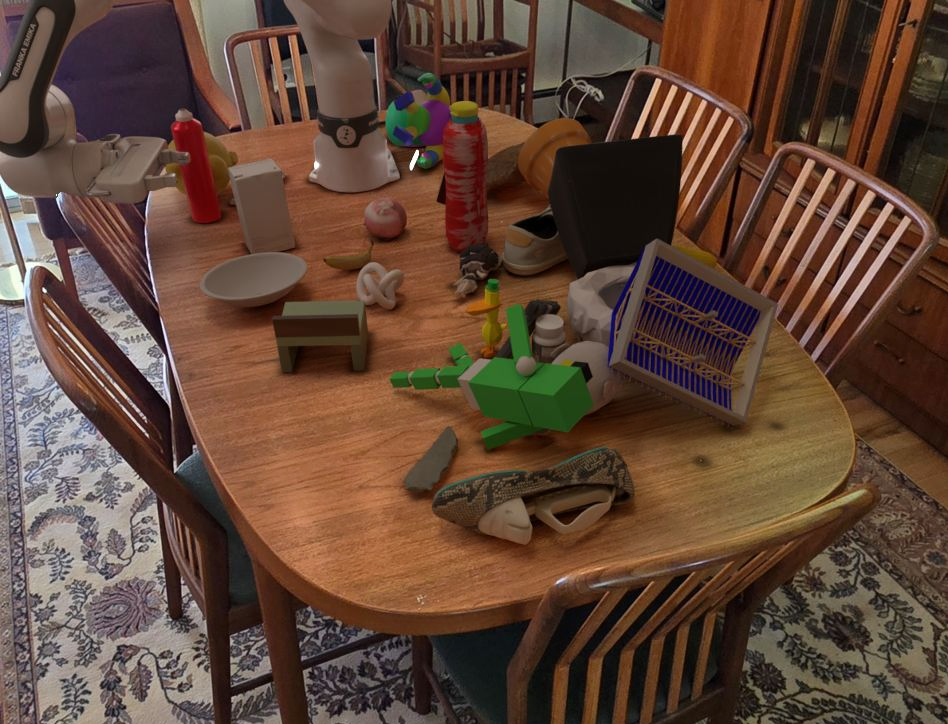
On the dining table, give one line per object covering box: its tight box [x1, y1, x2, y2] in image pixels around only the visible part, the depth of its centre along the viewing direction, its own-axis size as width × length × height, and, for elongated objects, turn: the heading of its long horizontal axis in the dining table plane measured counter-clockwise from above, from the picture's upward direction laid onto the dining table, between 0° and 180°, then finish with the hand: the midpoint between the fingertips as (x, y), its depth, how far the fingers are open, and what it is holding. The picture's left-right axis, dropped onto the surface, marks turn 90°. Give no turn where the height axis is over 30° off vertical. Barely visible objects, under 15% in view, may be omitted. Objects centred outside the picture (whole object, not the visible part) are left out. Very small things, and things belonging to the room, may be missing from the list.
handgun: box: [494, 298, 562, 359], centre depth 127 cm, size 19×2×12 cm
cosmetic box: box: [228, 157, 296, 254], centre depth 151 cm, size 8×6×15 cm
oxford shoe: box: [501, 204, 569, 276], centre depth 152 cm, size 11×29×8 cm, turn 137°
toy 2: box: [528, 341, 624, 437], centre depth 114 cm, size 10×15×10 cm, turn 131°
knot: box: [355, 261, 405, 310], centre depth 139 cm, size 8×8×6 cm
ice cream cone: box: [408, 89, 428, 105], centre depth 205 cm, size 5×5×15 cm
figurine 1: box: [385, 72, 452, 170], centre depth 181 cm, size 18×14×20 cm
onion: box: [363, 197, 408, 242], centre depth 157 cm, size 8×8×7 cm
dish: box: [199, 251, 308, 308], centre depth 139 cm, size 18×14×5 cm
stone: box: [403, 425, 459, 494], centre depth 109 cm, size 13×2×5 cm
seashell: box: [486, 141, 527, 193], centre depth 173 cm, size 19×9×15 cm
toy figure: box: [465, 278, 508, 359], centre depth 125 cm, size 7×4×12 cm, turn 120°
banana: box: [322, 239, 375, 271], centre depth 148 cm, size 10×2×4 cm, turn 128°
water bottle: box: [435, 100, 489, 253], centre depth 148 cm, size 12×8×25 cm, turn 36°
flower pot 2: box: [547, 133, 683, 280], centre depth 135 cm, size 19×19×17 cm
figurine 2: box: [452, 242, 504, 300], centre depth 144 cm, size 7×6×15 cm
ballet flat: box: [431, 446, 635, 545], centre depth 100 cm, size 8×25×9 cm
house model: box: [607, 239, 779, 427], centre depth 115 cm, size 19×20×7 cm
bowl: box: [566, 262, 637, 347], centre depth 127 cm, size 21×20×10 cm
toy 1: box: [388, 303, 594, 451], centre depth 113 cm, size 14×15×30 cm
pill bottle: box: [531, 314, 566, 364], centre depth 123 cm, size 5×5×8 cm
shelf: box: [271, 300, 369, 373], centre depth 127 cm, size 10×12×9 cm
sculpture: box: [164, 131, 239, 196], centre depth 168 cm, size 15×13×13 cm
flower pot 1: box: [518, 117, 592, 198], centre depth 162 cm, size 14×14×13 cm
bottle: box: [170, 108, 222, 224], centre depth 158 cm, size 5×5×20 cm
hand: (182, 169), depth 145 cm, fingers open, 8 cm apart
